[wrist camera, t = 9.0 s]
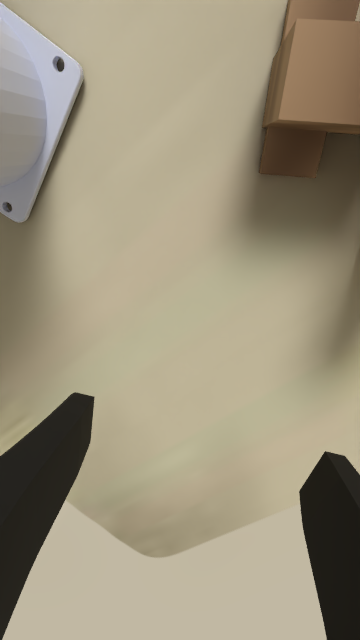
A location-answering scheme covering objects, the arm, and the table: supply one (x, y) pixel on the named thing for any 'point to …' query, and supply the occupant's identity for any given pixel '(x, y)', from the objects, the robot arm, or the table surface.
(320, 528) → the robot arm
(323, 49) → the walnut rail
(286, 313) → the table surface
